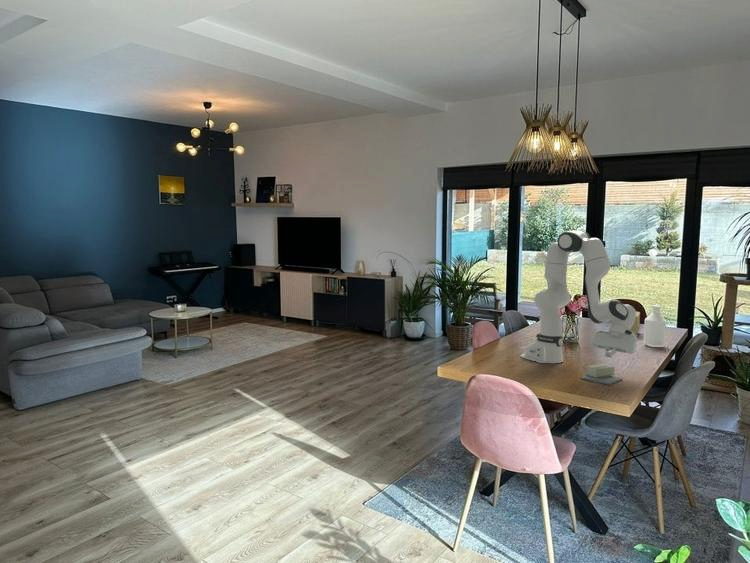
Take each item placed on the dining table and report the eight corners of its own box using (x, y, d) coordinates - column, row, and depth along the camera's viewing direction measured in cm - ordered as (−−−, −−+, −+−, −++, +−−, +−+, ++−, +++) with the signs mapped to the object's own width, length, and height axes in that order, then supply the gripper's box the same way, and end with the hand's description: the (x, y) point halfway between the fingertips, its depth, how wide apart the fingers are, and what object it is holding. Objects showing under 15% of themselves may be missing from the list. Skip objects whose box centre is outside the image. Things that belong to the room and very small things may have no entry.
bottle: (659, 344, 339) (662, 304, 336) (667, 348, 327) (671, 307, 324) (639, 343, 340) (642, 304, 337) (647, 347, 328) (650, 306, 325)
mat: (580, 378, 257) (580, 377, 257) (593, 373, 266) (594, 372, 266) (609, 385, 246) (609, 383, 246) (622, 380, 256) (622, 378, 256)
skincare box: (604, 372, 266) (585, 374, 261) (604, 363, 266) (586, 365, 261) (614, 375, 261) (596, 378, 256) (615, 366, 260) (596, 369, 255)
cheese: (630, 331, 379) (631, 310, 378) (645, 333, 373) (646, 312, 371) (620, 336, 362) (622, 314, 361) (636, 338, 356) (638, 315, 354)
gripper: (595, 326, 270) (585, 348, 265) (637, 333, 255) (627, 356, 250) (599, 334, 274) (588, 356, 268) (640, 341, 259) (630, 364, 253)
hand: (607, 356), depth 259 cm, fingers closed
